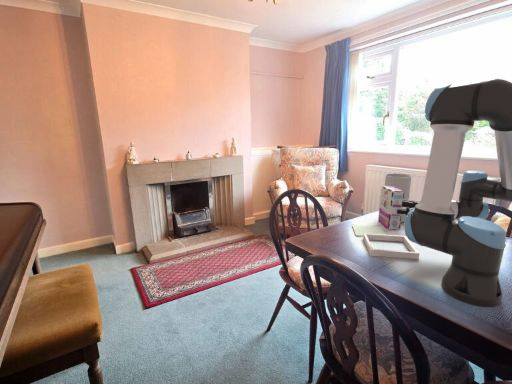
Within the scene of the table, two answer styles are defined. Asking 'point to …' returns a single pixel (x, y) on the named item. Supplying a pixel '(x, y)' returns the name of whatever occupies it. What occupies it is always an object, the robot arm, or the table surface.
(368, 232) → the mat
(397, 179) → the cylinder vase
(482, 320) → the table surface
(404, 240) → the square wooden frame
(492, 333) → the table surface
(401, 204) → the candy bar box
